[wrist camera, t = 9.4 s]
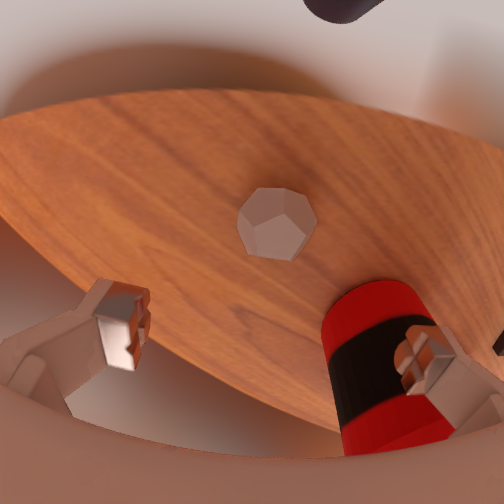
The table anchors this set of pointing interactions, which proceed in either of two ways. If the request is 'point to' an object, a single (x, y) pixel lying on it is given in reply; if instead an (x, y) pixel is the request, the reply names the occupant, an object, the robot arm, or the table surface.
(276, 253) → the polyhedron
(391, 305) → the soda can
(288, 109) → the table surface
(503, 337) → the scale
